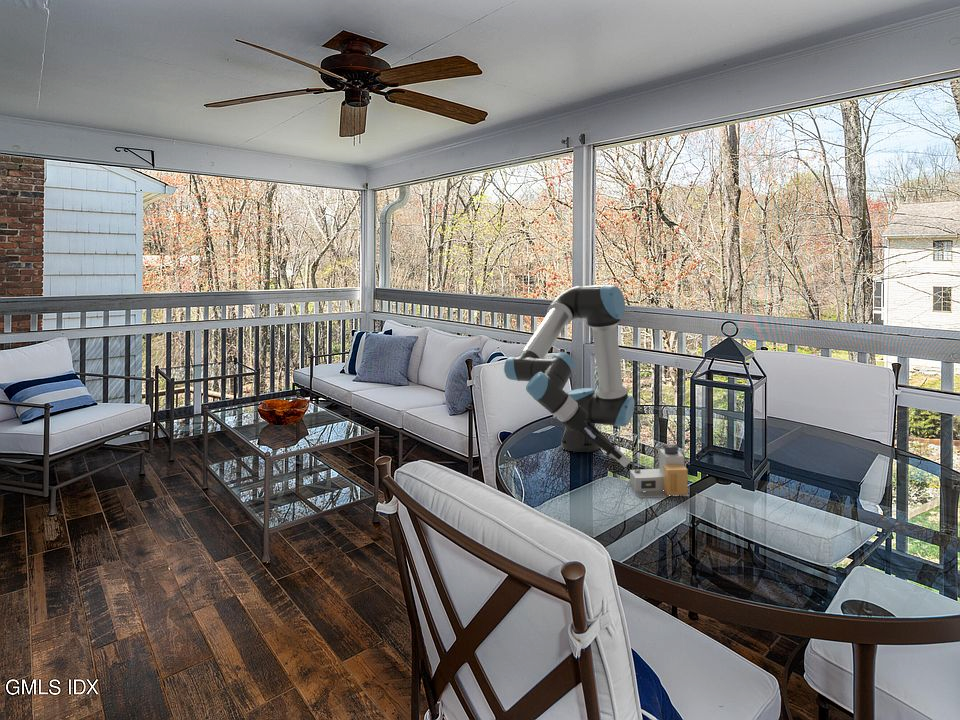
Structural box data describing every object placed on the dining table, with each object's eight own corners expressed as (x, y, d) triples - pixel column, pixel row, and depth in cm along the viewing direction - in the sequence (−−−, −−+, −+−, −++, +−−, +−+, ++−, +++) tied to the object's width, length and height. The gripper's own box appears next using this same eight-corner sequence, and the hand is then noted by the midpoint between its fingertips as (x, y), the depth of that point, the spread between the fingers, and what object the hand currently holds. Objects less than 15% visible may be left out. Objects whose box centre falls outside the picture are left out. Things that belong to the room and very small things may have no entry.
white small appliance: (639, 498, 173) (639, 457, 171) (629, 483, 185) (629, 444, 183) (689, 496, 173) (689, 455, 171) (676, 481, 185) (676, 442, 183)
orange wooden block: (668, 496, 172) (667, 470, 171) (663, 489, 177) (663, 465, 176) (688, 495, 172) (688, 469, 171) (682, 489, 177) (682, 464, 176)
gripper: (559, 416, 178) (614, 464, 180) (564, 428, 165) (623, 480, 167) (575, 399, 177) (630, 447, 179) (582, 409, 164) (641, 462, 166)
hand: (627, 463), depth 173 cm, fingers closed
